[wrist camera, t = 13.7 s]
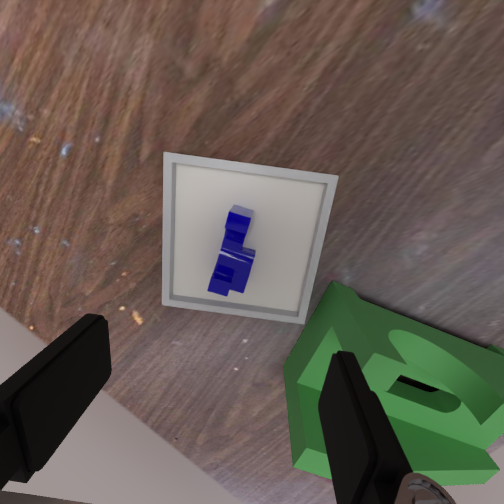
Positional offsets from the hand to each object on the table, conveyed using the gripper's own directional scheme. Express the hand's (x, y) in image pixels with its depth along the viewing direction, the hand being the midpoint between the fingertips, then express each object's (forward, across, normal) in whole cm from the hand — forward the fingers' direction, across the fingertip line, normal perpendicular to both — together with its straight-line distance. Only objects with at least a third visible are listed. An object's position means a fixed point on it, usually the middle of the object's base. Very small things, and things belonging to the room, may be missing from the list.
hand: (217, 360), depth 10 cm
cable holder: (+17, +1, +1) cm, 17 cm away
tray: (+18, +1, 0) cm, 18 cm away
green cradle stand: (+19, -20, +13) cm, 30 cm away
